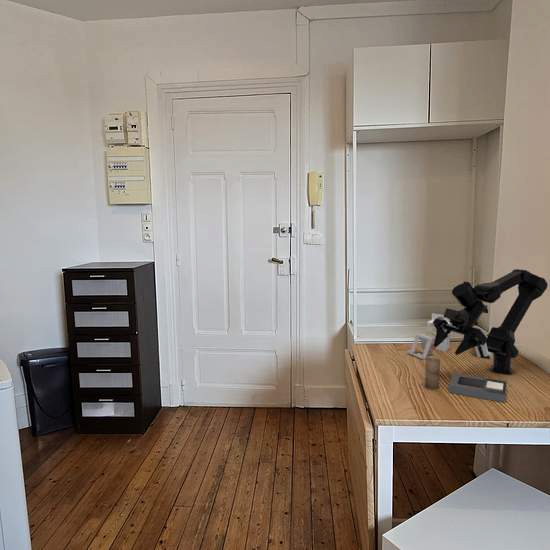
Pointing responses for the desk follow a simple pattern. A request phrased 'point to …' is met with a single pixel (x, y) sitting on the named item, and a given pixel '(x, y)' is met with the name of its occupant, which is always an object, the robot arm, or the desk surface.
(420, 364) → the desk surface
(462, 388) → the hole plate
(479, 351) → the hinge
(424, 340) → the portable electronic device stand
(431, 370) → the walnut peg
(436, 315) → the ink cartridge box
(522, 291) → the robot arm
